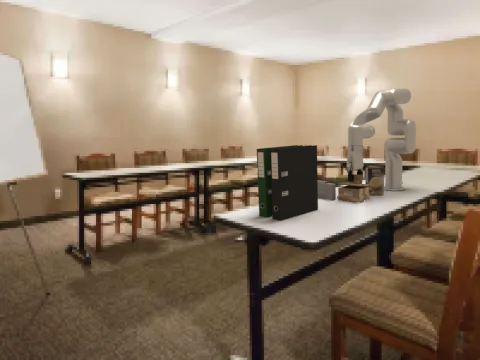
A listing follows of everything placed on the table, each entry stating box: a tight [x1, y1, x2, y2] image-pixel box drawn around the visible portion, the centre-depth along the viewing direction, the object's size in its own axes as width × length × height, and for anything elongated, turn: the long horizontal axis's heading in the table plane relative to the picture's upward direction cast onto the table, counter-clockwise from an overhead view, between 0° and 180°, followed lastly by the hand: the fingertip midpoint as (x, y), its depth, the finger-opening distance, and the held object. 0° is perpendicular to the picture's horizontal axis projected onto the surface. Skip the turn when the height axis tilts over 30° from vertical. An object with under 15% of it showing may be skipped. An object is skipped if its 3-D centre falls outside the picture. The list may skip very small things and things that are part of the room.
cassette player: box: [318, 180, 337, 201], centre depth 203 cm, size 16×3×10 cm, turn 33°
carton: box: [337, 185, 370, 203], centre depth 195 cm, size 12×12×7 cm
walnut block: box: [348, 173, 364, 184], centre depth 193 cm, size 5×5×5 cm
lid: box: [337, 182, 370, 186], centre depth 194 cm, size 12×12×1 cm
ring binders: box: [256, 144, 319, 222], centre depth 170 cm, size 27×15×32 cm, turn 129°
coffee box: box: [364, 166, 385, 197], centre depth 205 cm, size 9×6×16 cm
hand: (355, 180), depth 193 cm, fingers open, 9 cm apart
